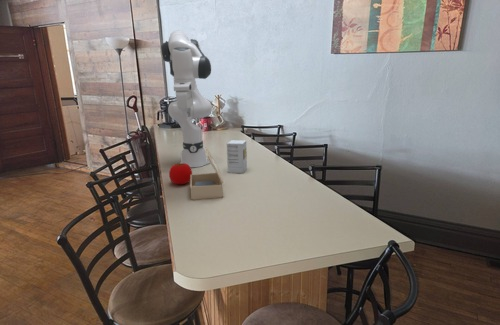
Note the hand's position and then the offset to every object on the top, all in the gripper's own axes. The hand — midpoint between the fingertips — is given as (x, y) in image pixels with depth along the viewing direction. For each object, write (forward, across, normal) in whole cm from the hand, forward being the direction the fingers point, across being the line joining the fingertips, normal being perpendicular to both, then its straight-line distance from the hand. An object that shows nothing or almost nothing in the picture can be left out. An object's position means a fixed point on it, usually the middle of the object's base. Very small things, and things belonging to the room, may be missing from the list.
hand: (187, 118), depth 143 cm
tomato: (+34, -13, -8) cm, 38 cm away
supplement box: (+34, -31, +21) cm, 51 cm away
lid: (+22, 0, +10) cm, 24 cm away
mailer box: (+35, 0, +6) cm, 35 cm away
